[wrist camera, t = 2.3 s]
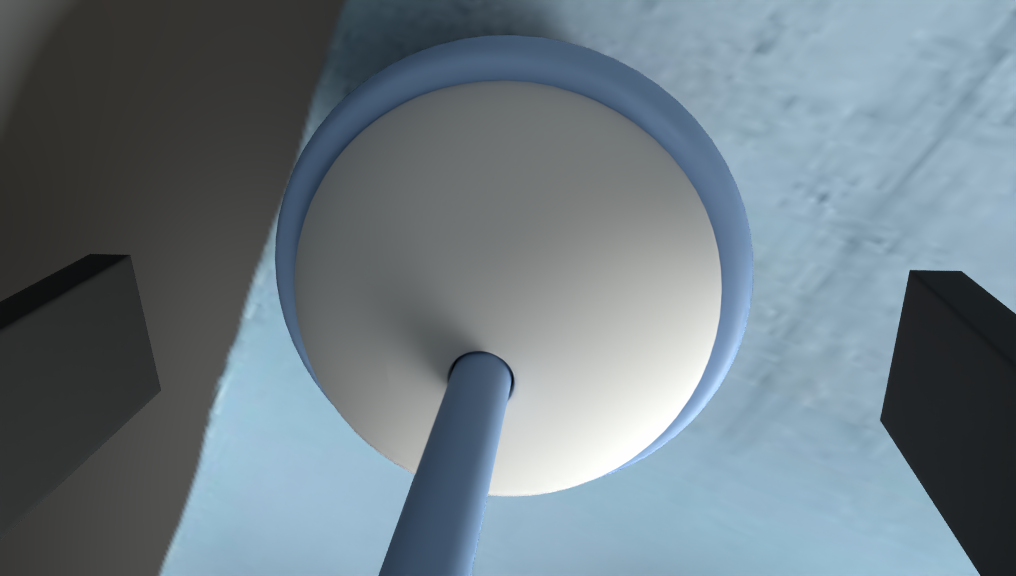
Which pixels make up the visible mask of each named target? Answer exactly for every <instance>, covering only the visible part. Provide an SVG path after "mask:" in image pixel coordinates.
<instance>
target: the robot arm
mask: <svg viewBox="0 0 1016 576" xmlns="http://www.w3.org/2000/svg"><path fill="white" fill-rule="evenodd" d="M160 391H161V388H160V384H159V380H158V375H157V371H156V366H155V363H154V358H153V353H152V349H151V344H150V340H149V336H148V331H147V327H146V322H145V318H144V314H143V309H142V305H141V300H140V296H139V292H138V288H137V283H136V279H135V274H134V270H133V265H132V261H131V257H130V255H106V254H90V255H87V256H86V257H84V258H82V259H80V260H78V261H76V262H74V263H73V264H71V265H69V266H67V267H65V268H63V269H61V270H59V271H57V272H56V273H54V274H52V275H50V276H48V277H46V278H44V279H42V280H40V281H39V282H37V283H35V284H33V285H31V286H29V287H28V288H25V289H24V290H22V291H20V292H18V293H16V294H14V295H13V296H10V297H9V298H7V299H5V300H3V301H1V302H0V540H1V539H2V538H3V537H4V536H5V535H6V534H7V533H8V532H9V531H10V530H12V528H14V527H15V526H16V525H17V524H18V523H19V522H20V521H21V520H22V519H23V518H24V517H25V516H27V515H28V514H29V513H30V512H31V511H32V510H33V509H34V508H35V507H36V506H37V505H38V504H40V503H41V502H42V501H43V500H44V499H45V498H46V497H47V496H48V495H49V494H50V493H51V492H52V491H53V490H55V489H56V488H57V487H58V486H59V485H60V484H61V483H62V482H63V481H64V480H65V479H66V478H67V477H68V476H70V475H71V474H72V473H73V472H74V471H75V470H76V469H77V468H78V467H79V466H80V465H81V464H83V463H84V462H85V461H86V460H87V459H88V458H89V457H90V456H91V455H92V454H93V453H94V452H95V451H97V450H98V449H99V448H100V447H101V446H102V445H103V444H104V443H105V442H106V441H107V440H108V439H109V438H110V437H112V435H114V434H115V433H116V432H117V431H118V430H119V429H120V428H121V427H122V426H123V425H124V424H125V423H127V422H128V421H129V420H130V419H131V418H132V417H133V416H134V415H135V414H136V413H137V412H138V411H140V409H142V408H143V407H144V406H145V405H146V404H147V403H148V402H149V401H150V400H151V399H152V398H153V397H155V395H157V394H158V393H159V392H160ZM880 421H881V422H882V424H883V425H884V427H885V429H886V430H887V432H888V433H889V435H890V436H891V438H892V439H893V441H894V442H895V444H896V446H897V447H898V449H899V450H900V452H901V453H902V455H903V456H904V458H905V459H906V461H907V463H908V464H909V466H910V467H911V469H912V470H913V472H914V473H915V475H916V477H917V478H918V480H919V481H920V483H921V484H922V486H923V487H924V489H925V490H926V492H927V494H928V495H929V497H930V498H931V500H932V501H933V503H934V504H935V506H936V508H937V509H938V511H939V512H940V514H941V515H942V517H943V518H944V520H945V521H946V523H947V525H948V526H949V528H950V529H951V531H952V532H953V534H954V535H955V537H956V538H957V540H958V542H959V543H960V545H961V546H962V548H963V549H964V551H965V552H966V554H967V556H968V557H969V559H970V560H971V562H972V563H973V565H974V566H975V568H976V569H977V571H978V573H979V574H980V576H1016V314H1015V313H1014V312H1012V311H1011V310H1010V309H1009V308H1007V307H1006V306H1005V305H1004V304H1002V303H1001V302H1000V301H999V300H997V299H996V298H995V297H993V296H992V295H991V294H990V293H988V292H987V291H986V290H985V289H983V288H982V287H981V286H980V285H978V284H977V283H976V282H974V281H973V280H972V279H971V278H969V277H968V276H967V275H966V274H964V273H963V272H962V271H927V270H910V272H909V277H908V282H907V287H906V292H905V297H904V302H903V307H902V312H901V317H900V322H899V327H898V332H897V338H896V343H895V348H894V353H893V358H892V363H891V368H890V373H889V378H888V383H887V388H886V393H885V398H884V403H883V408H882V413H881V418H880Z"/></svg>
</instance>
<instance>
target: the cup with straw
mask: <svg viewBox="0 0 1016 576" xmlns="http://www.w3.org/2000/svg"><path fill="white" fill-rule="evenodd" d="M275 265H276V279H277V287H278V293H279V299H280V304H281V308H282V311H283V315H284V319H285V322H286V325H287V328H288V330H289V333H290V336H291V338H292V341H293V343H294V346H295V348H296V350H297V352H298V354H299V356H300V358H301V360H302V362H303V364H304V365H305V367H306V369H307V370H308V372H309V373H310V375H311V377H312V378H313V380H314V381H315V383H316V384H317V385H318V387H319V388H320V389H321V391H322V392H323V394H324V395H325V396H326V397H327V399H328V400H329V401H330V402H331V403H332V404H333V405H334V407H335V408H336V409H337V411H338V412H339V413H340V415H341V416H342V417H343V419H344V420H345V421H346V422H347V423H348V424H349V425H350V426H351V428H352V429H353V430H354V431H355V432H356V433H357V434H358V435H359V436H360V437H361V438H362V439H364V440H365V441H366V442H367V443H368V444H369V445H370V446H372V447H373V448H374V449H375V450H377V451H378V452H379V453H380V454H382V455H383V456H385V457H386V458H388V459H389V460H391V461H392V462H394V463H395V464H397V465H399V466H400V467H402V468H404V469H406V470H407V471H409V472H411V473H413V474H415V476H414V479H413V482H412V485H411V487H410V490H409V493H408V496H407V498H406V501H405V504H404V507H403V509H402V512H401V515H400V518H399V521H398V523H397V526H396V529H395V532H394V534H393V537H392V540H391V543H390V545H389V548H388V551H387V554H386V556H385V559H384V562H383V565H382V567H381V570H380V573H379V576H471V573H472V569H473V564H474V559H475V554H476V549H477V545H478V540H479V535H480V530H481V525H482V521H483V516H484V511H485V506H486V502H487V497H488V495H492V496H529V495H538V494H545V493H550V492H555V491H560V490H564V489H567V488H571V487H574V486H577V485H580V484H583V483H585V482H588V481H590V480H593V479H596V478H600V477H603V476H606V475H608V474H611V473H613V472H616V471H618V470H621V469H623V468H625V467H627V466H629V465H631V464H633V463H635V462H637V461H639V460H641V459H643V458H644V457H646V456H648V455H649V454H651V453H652V452H654V451H656V450H657V449H659V448H660V447H662V446H663V445H664V444H666V443H667V442H668V441H670V440H671V439H672V438H673V437H675V436H676V435H677V434H678V433H679V432H681V431H682V430H683V429H684V428H685V427H686V426H687V425H688V424H689V423H690V422H691V421H692V420H693V419H694V418H695V417H696V416H697V415H698V414H699V413H700V411H701V410H702V409H703V408H704V407H705V406H706V405H707V403H708V402H709V400H710V399H711V398H712V396H713V395H714V393H715V392H716V391H717V389H718V388H719V386H720V385H721V383H722V381H723V379H724V378H725V376H726V374H727V373H728V371H729V369H730V367H731V365H732V363H733V361H734V358H735V356H736V354H737V352H738V349H739V347H740V344H741V341H742V338H743V335H744V332H745V328H746V325H747V320H748V315H749V310H750V306H751V299H752V289H753V251H752V243H751V234H750V228H749V224H748V220H747V216H746V211H745V207H744V204H743V202H742V199H741V196H740V193H739V190H738V188H737V185H736V183H735V181H734V179H733V177H732V174H731V172H730V170H729V168H728V166H727V164H726V162H725V160H724V159H723V157H722V155H721V154H720V152H719V151H718V149H717V147H716V146H715V144H714V143H713V141H712V139H711V138H710V137H709V136H708V134H707V133H706V132H705V130H704V129H703V128H702V127H701V125H700V124H699V123H698V122H697V120H696V119H695V118H694V117H693V116H692V115H691V114H690V113H689V112H688V111H687V110H686V109H685V108H684V107H683V106H682V105H681V104H680V103H679V102H678V101H677V100H676V99H675V98H673V97H672V96H671V95H670V94H669V93H667V92H666V91H665V90H664V89H663V88H661V87H660V86H659V85H658V84H656V83H655V82H653V81H652V80H650V79H649V78H647V77H646V76H644V75H643V74H641V73H640V72H638V71H636V70H635V69H633V68H631V67H629V66H627V65H625V64H623V63H621V62H619V61H617V60H616V59H614V58H611V57H609V56H606V55H604V54H601V53H599V52H596V51H594V50H591V49H588V48H585V47H581V46H578V45H574V44H571V43H567V42H564V41H558V40H552V39H547V38H541V37H531V36H518V35H500V36H482V37H475V38H467V39H460V40H456V41H452V42H448V43H444V44H440V45H436V46H433V47H430V48H428V49H425V50H422V51H419V52H417V53H414V54H411V55H409V56H407V57H405V58H403V59H401V60H399V61H397V62H395V63H393V64H391V65H389V66H388V67H386V68H385V69H383V70H381V71H380V72H378V73H377V74H375V75H373V76H372V77H370V78H369V79H367V80H366V81H365V82H363V83H362V84H361V85H360V86H358V87H357V88H356V89H355V90H353V91H352V92H351V93H350V94H348V95H347V96H346V97H345V98H344V99H343V100H342V101H341V102H340V103H339V104H338V105H337V106H336V107H335V108H334V109H333V110H332V111H331V112H330V114H329V115H328V116H327V117H326V119H325V120H324V121H323V122H322V124H321V125H320V126H319V127H318V129H317V130H316V131H315V133H314V134H313V136H312V137H311V139H310V141H309V142H308V144H307V145H306V147H305V148H304V150H303V152H302V154H301V156H300V158H299V160H298V162H297V164H296V166H295V168H294V170H293V172H292V175H291V178H290V180H289V183H288V186H287V188H286V191H285V194H284V198H283V202H282V206H281V210H280V214H279V219H278V226H277V234H276V251H275Z"/></svg>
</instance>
